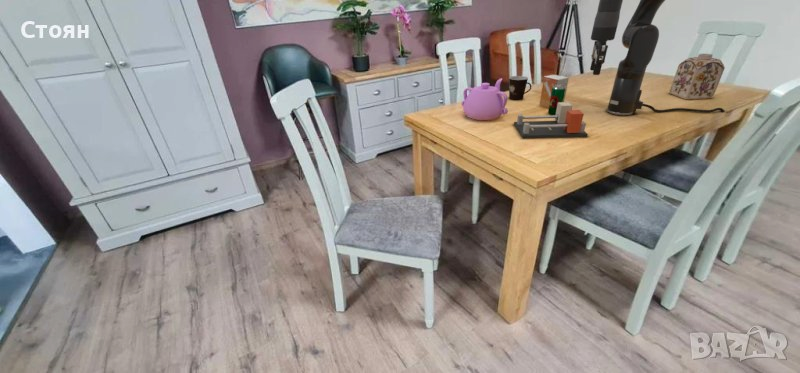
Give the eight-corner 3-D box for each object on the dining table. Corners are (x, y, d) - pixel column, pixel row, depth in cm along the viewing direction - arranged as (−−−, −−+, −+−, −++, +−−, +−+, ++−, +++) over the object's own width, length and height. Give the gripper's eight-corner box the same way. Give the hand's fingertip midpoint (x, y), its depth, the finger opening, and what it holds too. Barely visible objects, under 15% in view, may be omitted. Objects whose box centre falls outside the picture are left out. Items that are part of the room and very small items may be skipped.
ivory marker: (565, 119, 130) (568, 102, 126) (569, 123, 126) (573, 105, 122) (554, 119, 130) (557, 102, 126) (558, 123, 126) (561, 105, 123)
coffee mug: (504, 97, 167) (506, 76, 162) (521, 95, 167) (523, 75, 163) (513, 103, 157) (515, 81, 152) (530, 102, 157) (533, 80, 152)
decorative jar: (713, 98, 147) (731, 55, 138) (686, 100, 147) (702, 57, 138) (693, 92, 157) (708, 51, 148) (667, 93, 158) (681, 52, 149)
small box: (539, 105, 152) (543, 76, 146) (549, 103, 154) (554, 74, 148) (552, 110, 146) (557, 79, 139) (563, 107, 148) (569, 77, 141)
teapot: (521, 112, 145) (525, 79, 138) (496, 126, 132) (499, 91, 125) (477, 104, 158) (479, 74, 152) (450, 116, 145) (451, 84, 138)
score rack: (571, 123, 130) (573, 111, 128) (587, 137, 117) (590, 124, 115) (513, 124, 132) (515, 113, 130) (522, 138, 119) (524, 126, 117)
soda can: (561, 116, 138) (567, 86, 132) (548, 116, 139) (553, 86, 133) (559, 112, 142) (564, 83, 136) (546, 112, 143) (551, 83, 137)
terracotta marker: (574, 128, 121) (578, 109, 117) (579, 132, 117) (583, 113, 114) (563, 128, 121) (567, 110, 118) (567, 133, 117) (571, 114, 114)
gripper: (621, 26, 112) (608, 76, 120) (613, 23, 123) (602, 69, 131) (596, 27, 114) (585, 76, 122) (591, 23, 126) (581, 68, 134)
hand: (594, 72), depth 127 cm, fingers open, 8 cm apart
